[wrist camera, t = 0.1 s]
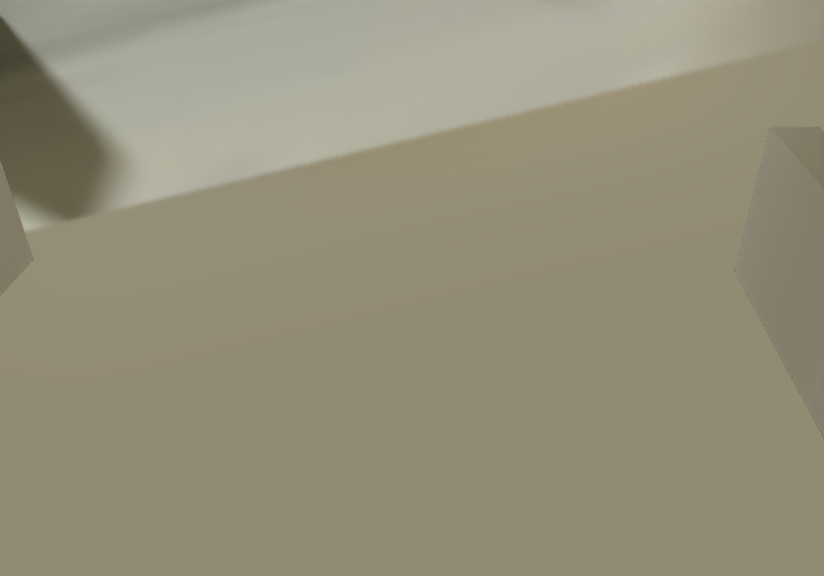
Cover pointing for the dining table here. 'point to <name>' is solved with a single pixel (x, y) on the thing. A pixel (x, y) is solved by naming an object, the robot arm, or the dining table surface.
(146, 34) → the dining table surface
